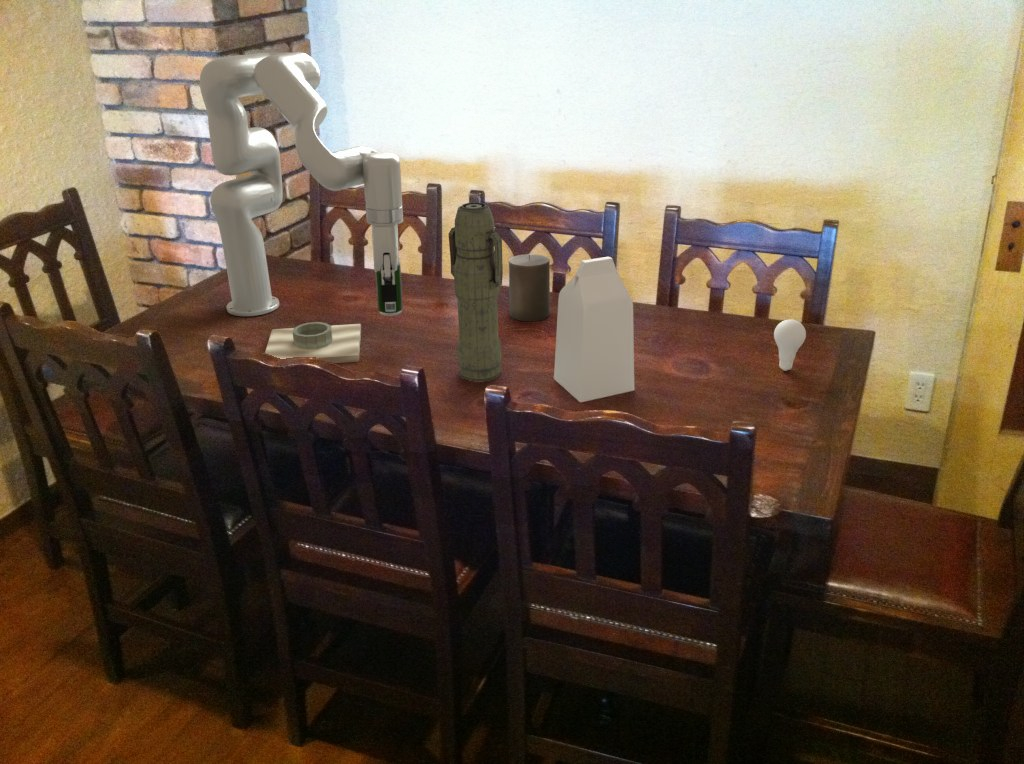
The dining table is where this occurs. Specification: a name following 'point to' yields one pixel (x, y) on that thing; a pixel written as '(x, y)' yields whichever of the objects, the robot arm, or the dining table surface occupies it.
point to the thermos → (477, 290)
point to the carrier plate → (327, 353)
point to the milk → (595, 333)
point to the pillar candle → (529, 287)
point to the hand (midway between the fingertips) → (389, 295)
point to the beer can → (397, 306)
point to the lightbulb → (788, 341)
